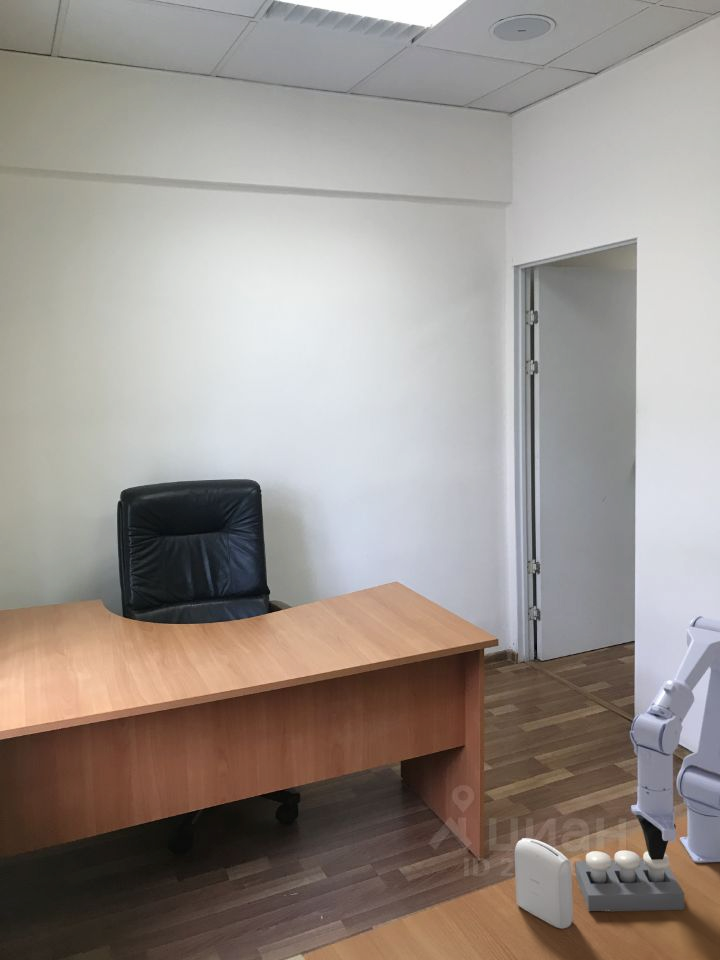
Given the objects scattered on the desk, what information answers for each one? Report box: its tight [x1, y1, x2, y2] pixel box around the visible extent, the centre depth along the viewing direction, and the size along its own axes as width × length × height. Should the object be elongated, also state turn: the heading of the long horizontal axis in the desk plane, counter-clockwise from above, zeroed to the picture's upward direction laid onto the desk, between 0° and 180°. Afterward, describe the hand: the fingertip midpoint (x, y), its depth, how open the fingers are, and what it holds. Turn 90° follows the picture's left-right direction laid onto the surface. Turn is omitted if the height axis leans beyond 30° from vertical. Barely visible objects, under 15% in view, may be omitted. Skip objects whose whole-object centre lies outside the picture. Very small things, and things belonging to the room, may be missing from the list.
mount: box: [574, 858, 685, 912], centre depth 143 cm, size 16×10×3 cm, turn 88°
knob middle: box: [614, 849, 641, 883], centre depth 142 cm, size 4×4×4 cm
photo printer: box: [514, 837, 574, 930], centre depth 138 cm, size 10×4×12 cm, turn 39°
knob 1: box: [585, 850, 612, 883], centre depth 142 cm, size 4×4×4 cm
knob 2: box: [642, 850, 670, 882], centre depth 142 cm, size 4×4×4 cm
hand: (656, 857), depth 142 cm, fingers closed, pressing on knob 2
